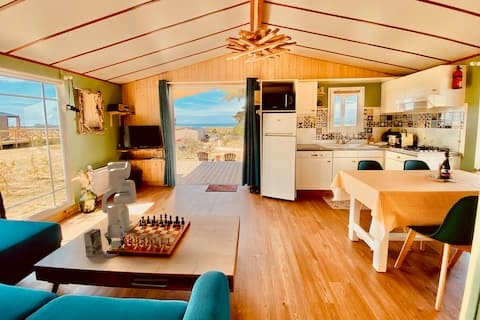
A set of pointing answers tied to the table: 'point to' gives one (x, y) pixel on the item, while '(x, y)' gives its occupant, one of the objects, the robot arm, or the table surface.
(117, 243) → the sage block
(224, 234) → the table surface
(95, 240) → the coffee box
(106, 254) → the grey round disc
